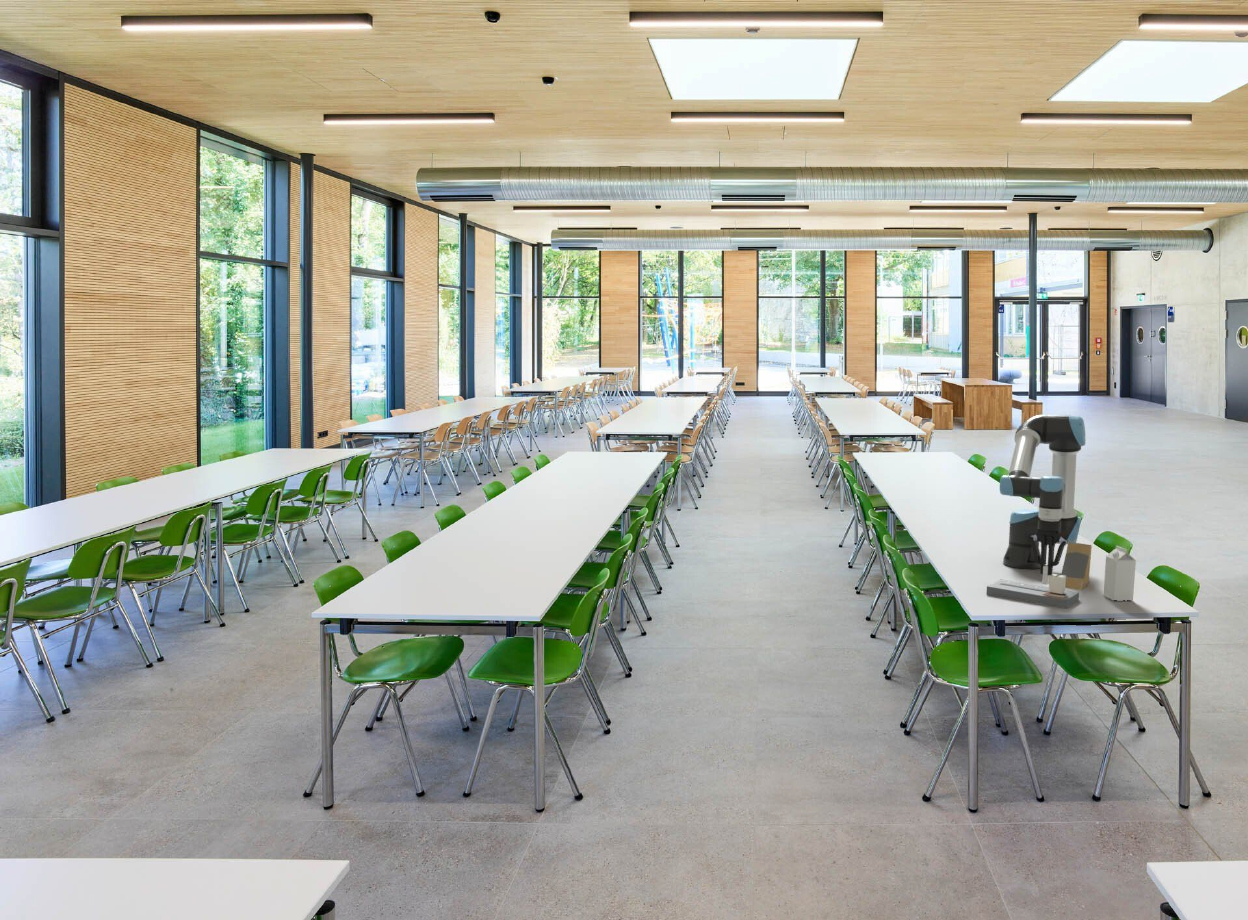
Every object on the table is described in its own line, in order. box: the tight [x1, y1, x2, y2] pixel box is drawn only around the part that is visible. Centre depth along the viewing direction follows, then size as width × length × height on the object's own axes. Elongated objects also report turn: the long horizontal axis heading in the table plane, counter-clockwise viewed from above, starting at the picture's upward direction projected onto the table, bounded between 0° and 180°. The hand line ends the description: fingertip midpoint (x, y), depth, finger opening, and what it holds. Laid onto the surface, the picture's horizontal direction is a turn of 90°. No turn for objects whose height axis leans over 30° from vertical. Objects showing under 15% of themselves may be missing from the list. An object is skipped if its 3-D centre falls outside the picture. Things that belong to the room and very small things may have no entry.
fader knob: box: [1048, 573, 1066, 594], centre depth 338 cm, size 4×4×6 cm
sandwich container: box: [1060, 542, 1093, 591], centre depth 362 cm, size 9×15×15 cm, turn 144°
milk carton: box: [1103, 545, 1137, 602], centre depth 341 cm, size 7×7×19 cm
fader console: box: [986, 578, 1080, 609], centre depth 344 cm, size 14×28×3 cm, turn 48°
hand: (1045, 583), depth 340 cm, fingers closed
